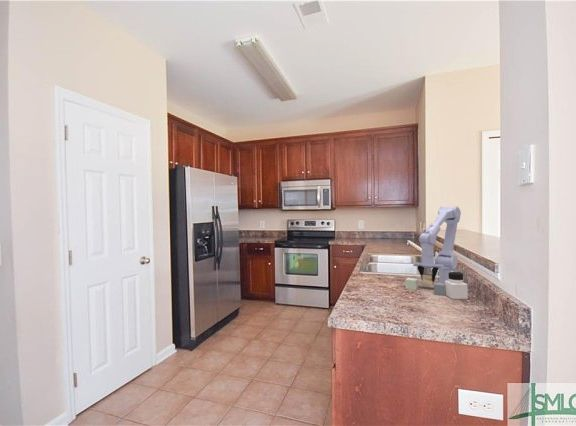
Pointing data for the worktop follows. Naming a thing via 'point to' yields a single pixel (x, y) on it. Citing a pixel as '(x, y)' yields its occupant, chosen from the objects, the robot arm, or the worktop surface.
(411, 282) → the sage block
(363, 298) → the worktop surface
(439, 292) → the slate block
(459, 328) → the worktop surface
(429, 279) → the maple block
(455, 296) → the medicine bottle
